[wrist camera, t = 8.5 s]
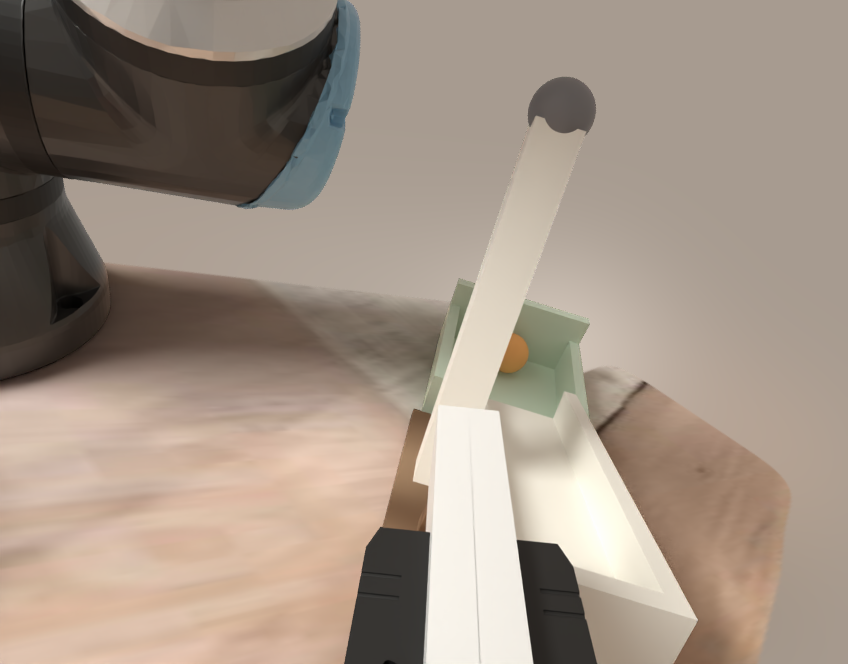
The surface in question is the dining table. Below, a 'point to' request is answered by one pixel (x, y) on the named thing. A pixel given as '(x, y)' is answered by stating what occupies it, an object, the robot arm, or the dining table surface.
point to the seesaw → (560, 415)
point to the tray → (547, 362)
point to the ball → (515, 355)
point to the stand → (409, 482)
